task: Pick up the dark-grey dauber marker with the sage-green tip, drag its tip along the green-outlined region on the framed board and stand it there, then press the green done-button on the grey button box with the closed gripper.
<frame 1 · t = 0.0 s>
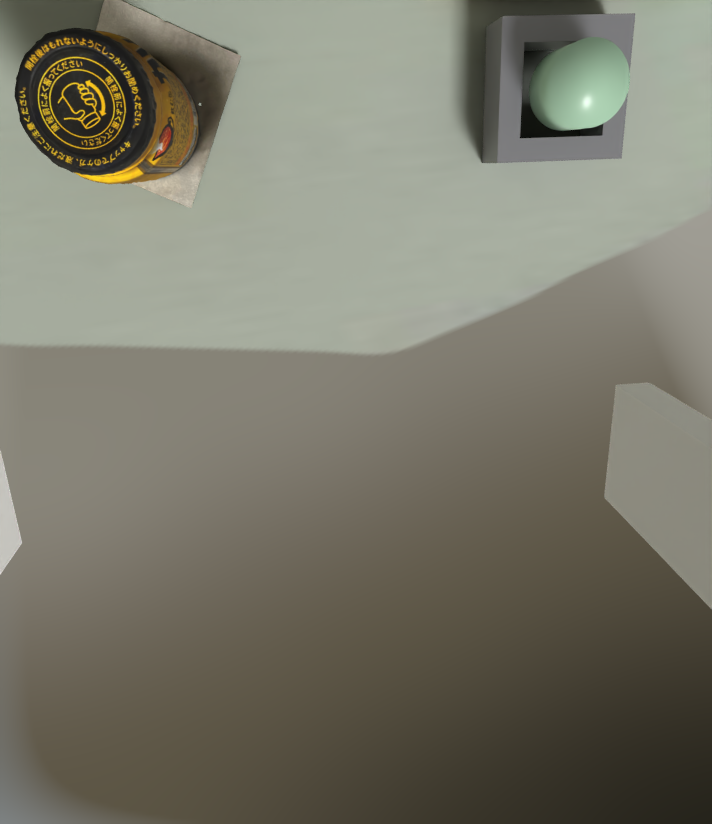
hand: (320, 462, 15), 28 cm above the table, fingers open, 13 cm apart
button: (577, 86, 34), point 5 cm above the table, slide at 0.0 cm
button box: (544, 95, 39), on the table
condiment: (152, 107, 37), on the table
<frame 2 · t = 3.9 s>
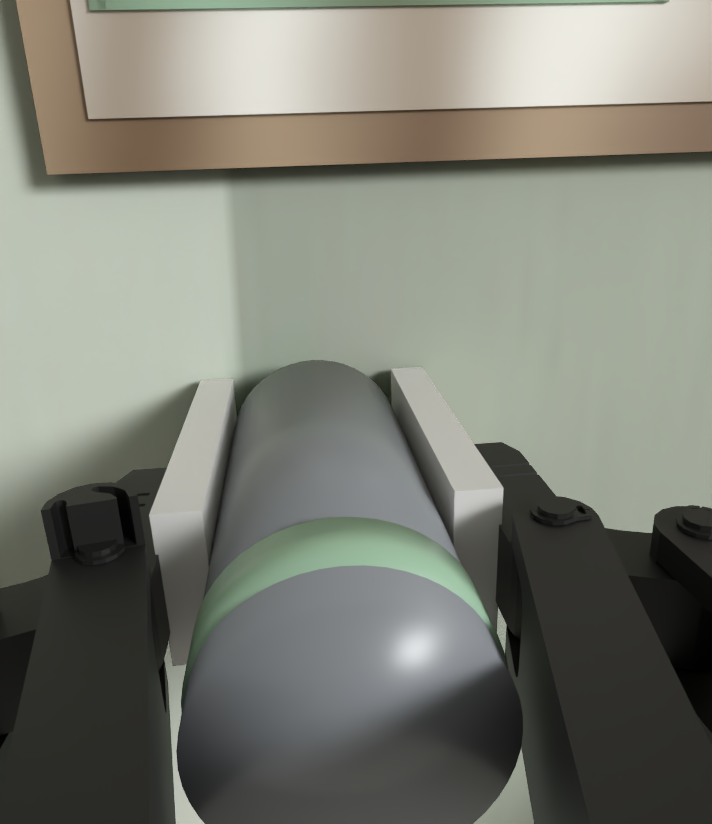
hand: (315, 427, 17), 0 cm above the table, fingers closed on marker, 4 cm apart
marker: (315, 423, 17), on the table, touching gripper
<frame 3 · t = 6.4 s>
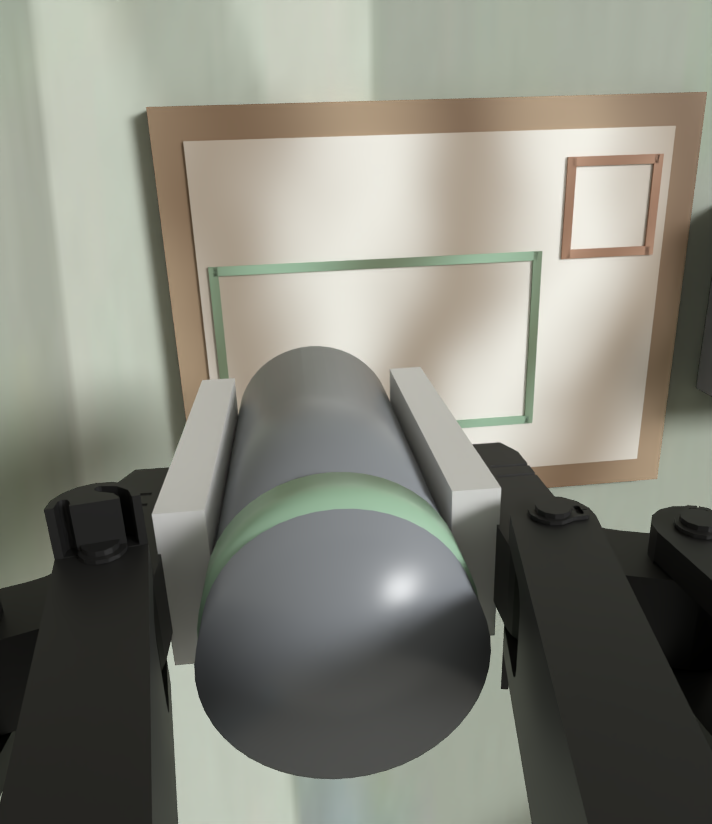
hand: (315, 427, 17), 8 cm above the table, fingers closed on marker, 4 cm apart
marker: (313, 406, 18), point 7 cm above the table, touching gripper
framed board: (432, 314, 24), on the table
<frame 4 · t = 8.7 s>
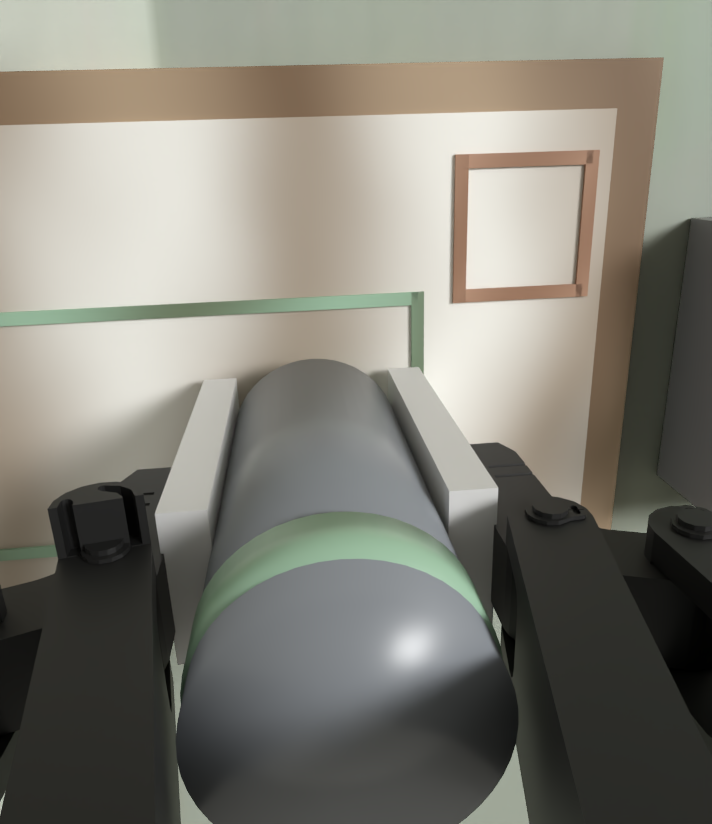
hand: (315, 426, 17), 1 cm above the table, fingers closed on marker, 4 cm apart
marker: (314, 421, 17), point 1 cm above the table, touching framed board, gripper
framed board: (275, 378, 17), on the table
when the fingers open (1 cm above the table, at t = 8.9 s): marker stays where it is, resting on framed board.
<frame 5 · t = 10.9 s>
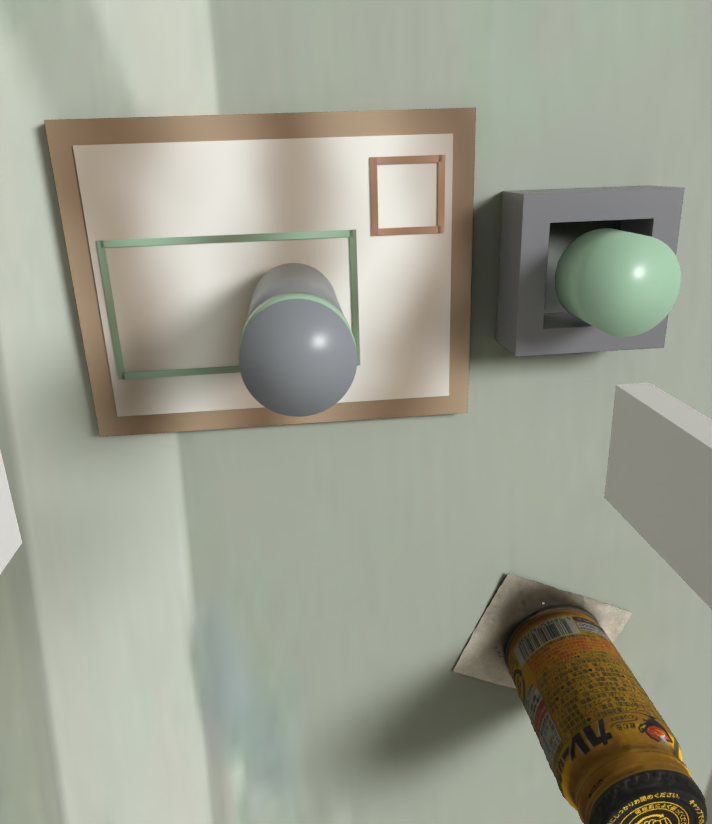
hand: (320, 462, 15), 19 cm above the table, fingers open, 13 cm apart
button: (614, 281, 28), point 5 cm above the table, slide at 0.0 cm
marker: (294, 301, 31), point 1 cm above the table, touching framed board
button box: (570, 265, 33), on the table
condiment: (539, 637, 40), on the table
framed board: (277, 279, 31), on the table
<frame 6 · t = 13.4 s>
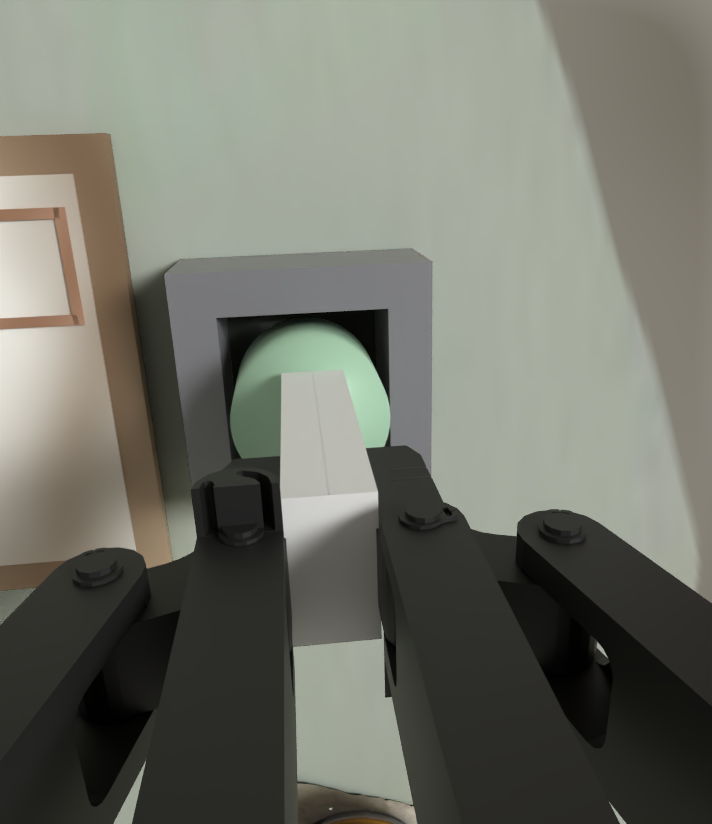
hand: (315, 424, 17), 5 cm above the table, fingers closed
button: (308, 401, 18), point 4 cm above the table, slide at 1.1 cm, touching gripper
button box: (304, 365, 22), on the table
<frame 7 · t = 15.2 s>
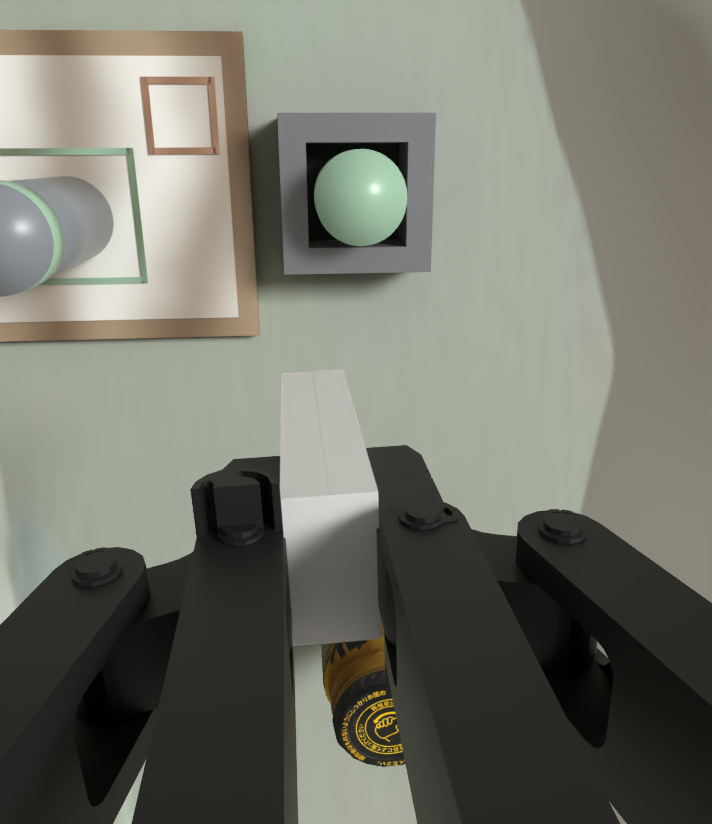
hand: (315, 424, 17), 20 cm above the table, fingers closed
button: (358, 196, 31), point 4 cm above the table, slide at 1.2 cm
marker: (78, 217, 33), point 1 cm above the table, touching framed board
button box: (352, 193, 34), on the table
condiment: (355, 567, 42), on the table
framed board: (64, 195, 33), on the table
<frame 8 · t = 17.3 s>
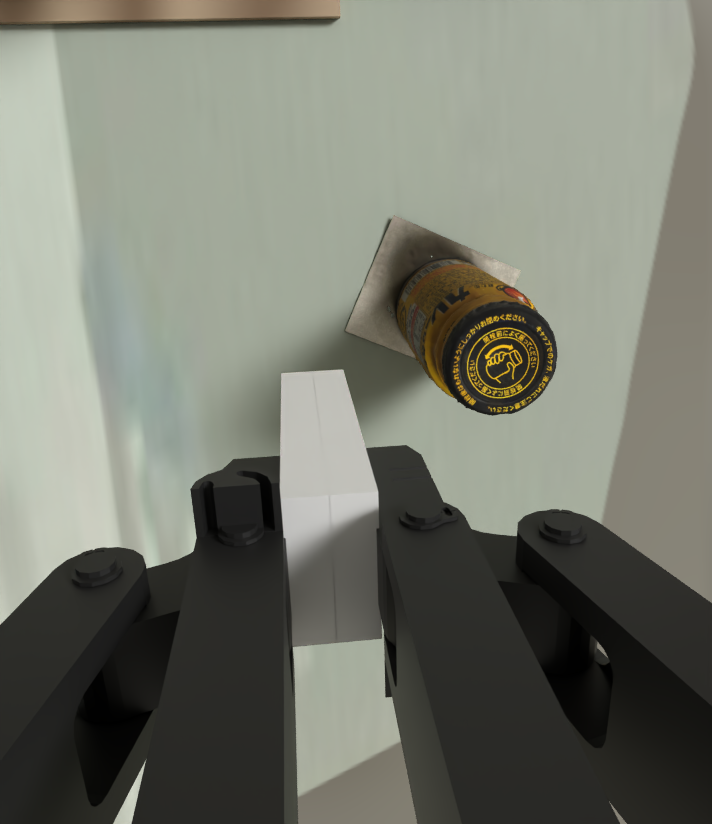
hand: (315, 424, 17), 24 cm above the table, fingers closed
condiment: (431, 299, 41), on the table
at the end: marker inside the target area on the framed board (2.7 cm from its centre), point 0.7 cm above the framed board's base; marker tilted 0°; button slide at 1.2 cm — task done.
